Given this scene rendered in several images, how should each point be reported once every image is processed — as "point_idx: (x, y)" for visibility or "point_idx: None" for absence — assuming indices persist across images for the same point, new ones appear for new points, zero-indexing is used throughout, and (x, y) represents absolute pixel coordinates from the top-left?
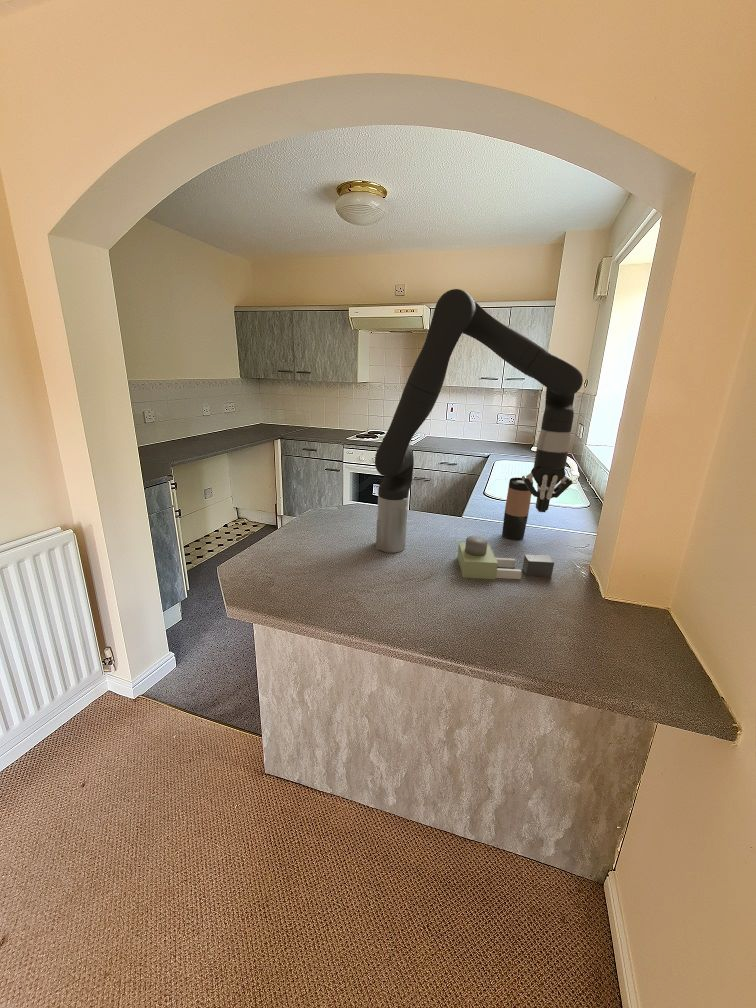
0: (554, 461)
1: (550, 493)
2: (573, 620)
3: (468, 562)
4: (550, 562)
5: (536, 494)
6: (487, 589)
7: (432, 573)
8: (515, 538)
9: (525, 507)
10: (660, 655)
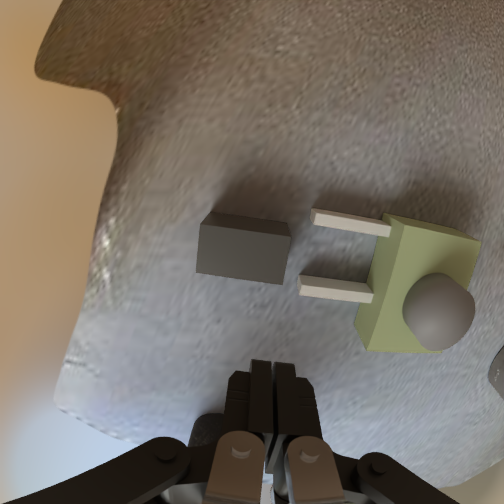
0: None
1: (229, 482)
2: (257, 10)
3: (472, 239)
4: (213, 225)
5: (374, 468)
6: (423, 163)
7: (500, 251)
8: (221, 417)
9: None
10: None
